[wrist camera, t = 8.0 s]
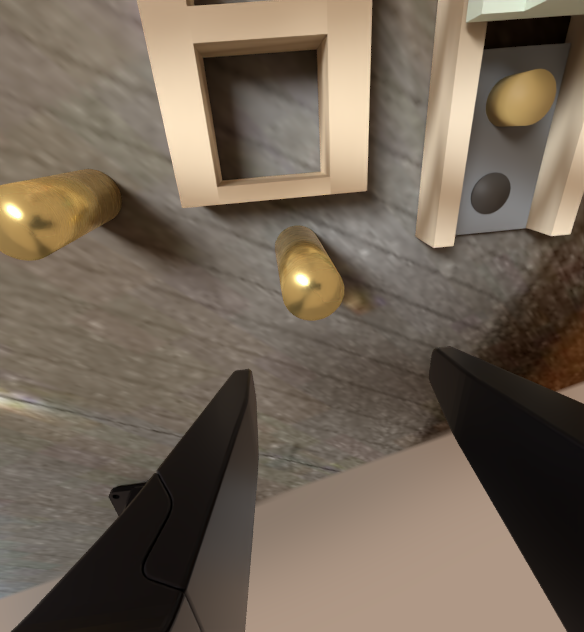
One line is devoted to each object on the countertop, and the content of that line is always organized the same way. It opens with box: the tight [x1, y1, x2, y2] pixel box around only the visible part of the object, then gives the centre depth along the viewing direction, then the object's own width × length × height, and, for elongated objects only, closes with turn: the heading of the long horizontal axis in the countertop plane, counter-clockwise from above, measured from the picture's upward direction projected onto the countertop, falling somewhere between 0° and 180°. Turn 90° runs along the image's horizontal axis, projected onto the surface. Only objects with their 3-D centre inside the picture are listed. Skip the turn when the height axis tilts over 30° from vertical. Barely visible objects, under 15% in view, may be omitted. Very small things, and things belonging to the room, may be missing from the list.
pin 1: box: [0, 169, 122, 260], centre depth 14 cm, size 2×2×6 cm
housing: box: [415, 0, 584, 248], centre depth 14 cm, size 17×7×2 cm, turn 4°
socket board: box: [137, 0, 372, 208], centre depth 13 cm, size 12×8×2 cm, turn 4°
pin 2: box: [275, 226, 344, 320], centre depth 16 cm, size 2×2×6 cm
